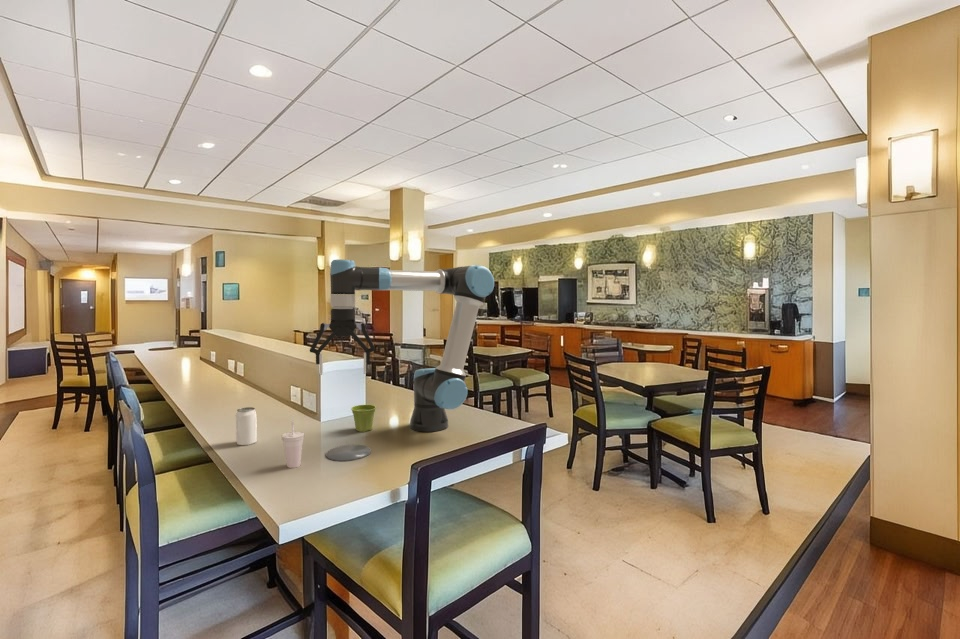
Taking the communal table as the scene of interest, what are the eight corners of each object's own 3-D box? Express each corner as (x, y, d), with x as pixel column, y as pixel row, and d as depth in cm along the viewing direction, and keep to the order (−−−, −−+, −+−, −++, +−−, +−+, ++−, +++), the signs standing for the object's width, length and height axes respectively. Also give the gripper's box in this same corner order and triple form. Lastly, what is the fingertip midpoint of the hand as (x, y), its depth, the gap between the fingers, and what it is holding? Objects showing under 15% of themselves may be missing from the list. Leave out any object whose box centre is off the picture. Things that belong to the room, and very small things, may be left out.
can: (232, 444, 161) (231, 410, 160) (247, 439, 167) (246, 406, 166) (246, 446, 159) (245, 412, 158) (261, 441, 165) (260, 407, 164)
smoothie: (282, 471, 137) (281, 424, 136) (282, 463, 143) (281, 419, 142) (305, 467, 140) (304, 422, 139) (304, 460, 146) (303, 416, 145)
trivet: (370, 444, 161) (370, 443, 161) (371, 458, 147) (371, 457, 147) (327, 448, 157) (327, 446, 157) (324, 462, 144) (324, 461, 144)
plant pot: (374, 433, 174) (374, 410, 174) (348, 433, 174) (348, 410, 173) (378, 425, 184) (377, 404, 183) (354, 426, 183) (353, 404, 182)
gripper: (382, 307, 155) (382, 370, 157) (303, 307, 149) (303, 372, 150) (383, 308, 148) (383, 374, 149) (300, 308, 142) (300, 376, 143)
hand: (343, 373), depth 150 cm, fingers open, 13 cm apart
